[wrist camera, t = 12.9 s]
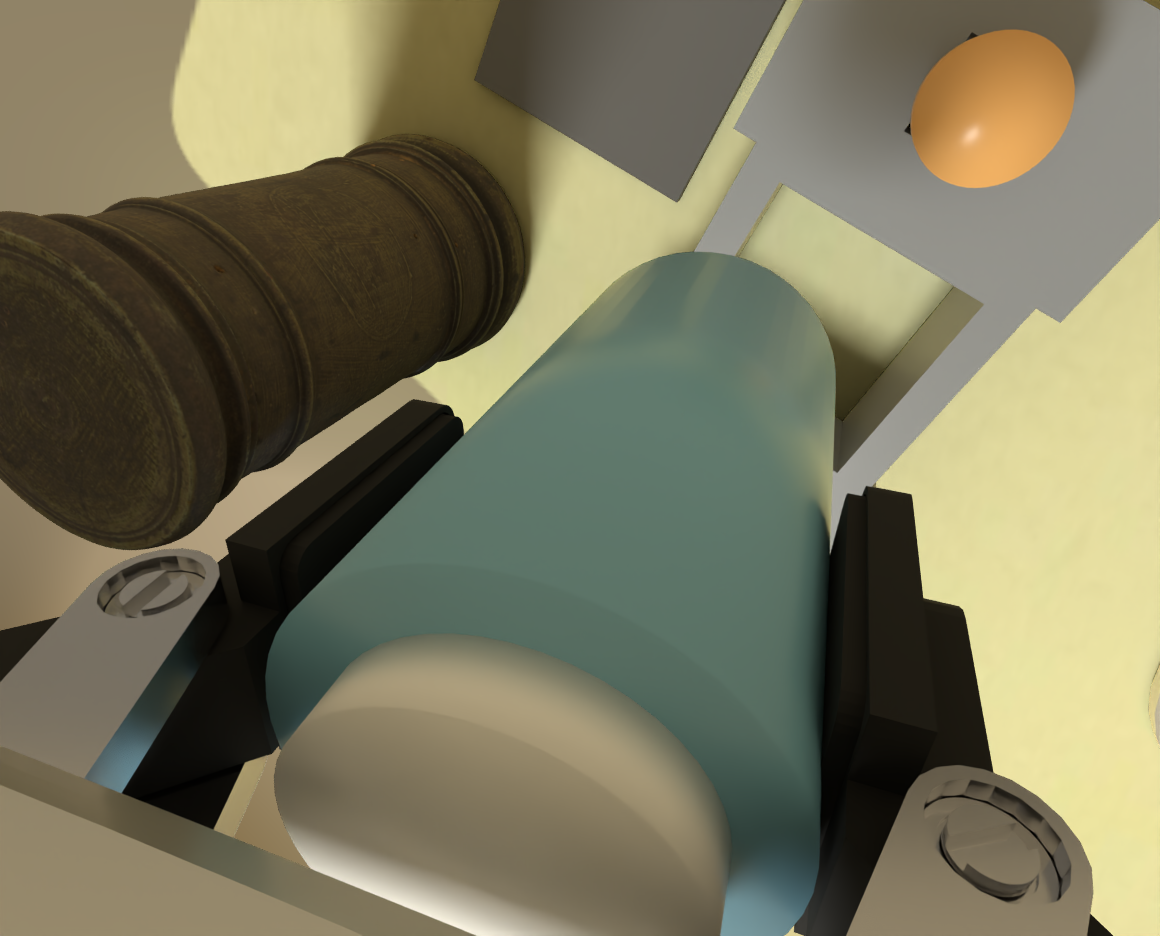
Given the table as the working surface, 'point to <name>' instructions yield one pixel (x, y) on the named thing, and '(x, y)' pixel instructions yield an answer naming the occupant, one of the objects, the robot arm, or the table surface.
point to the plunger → (992, 108)
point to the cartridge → (589, 636)
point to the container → (234, 326)
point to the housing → (942, 210)
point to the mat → (628, 74)
